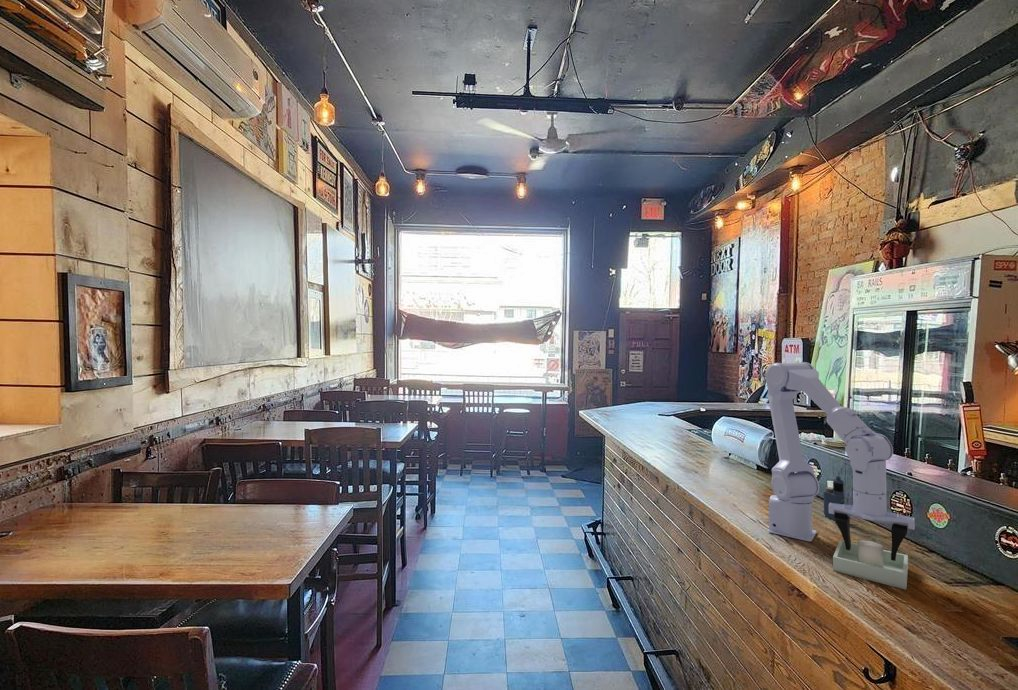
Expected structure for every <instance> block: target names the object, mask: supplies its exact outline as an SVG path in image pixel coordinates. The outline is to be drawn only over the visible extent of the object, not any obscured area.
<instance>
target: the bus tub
mask: <svg viewBox="0 0 1018 690" xmlns="http://www.w3.org/2000/svg"><path fill="white" fill-rule="evenodd" d="M883 554H884V568H881V567H877V566H873V565H869V564H865V563H861V562H858V543H854V542H851V548H850V550H846V547H845V542H844V540H841V539H840V540H839V541H838V544H837V546H836V548H835V551H834V553H833V556H832V570H833V571H834V572H836V573H841V574H845V575H847V576H852V577H856V578H859V579H864V580H867V581H871V582H875V583H879V584H883V585H886V586H890V587H895V588H897V589H902V590H905V591H906V590H907V588H908V575H909V573H908V572H909V555H908V554H903V553H899V552H897V554H896V561H893V560H891V551H890V550H886V549H883Z"/></svg>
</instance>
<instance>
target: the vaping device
mask: <svg viewBox="0 0 1018 690" xmlns="http://www.w3.org/2000/svg"><path fill="white" fill-rule="evenodd" d="M844 485H845V484H844V480H843V479H841V476H835V478H834V479H833V480H832V487H829V486H826V487H825V488H824V491H823V514H824V517H825V518H827V519H829V518H830V520H833V521H835V520H834V515H835V514H830V513H829V503H835V504H844V505H845V494H844V493H845V492H844V491H845V490H844V489H845V487H844Z"/></svg>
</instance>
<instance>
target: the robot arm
mask: <svg viewBox="0 0 1018 690" xmlns="http://www.w3.org/2000/svg"><path fill="white" fill-rule="evenodd" d="M764 373H765V381H766V386H767V397H768V402H769V409H770V414H771V421H772V426H773V432H774V436H775V437H774V438H775V443H776V444H775V445H776V448H777V454H778V460H779V461H778V462H777V463H776V464H775V465H774V466H773V467H772V468H771V482H770V484H771V490H772V492H773V493H774V494H772V495H770V497H769V501H768V531H767V532H768V533H771V534H775V535H780V536H783V537H787V538H792V539H796V540H801V541H805V542H811V543H812V542H813V540H814V537H815V536H816V535H817V532H818V531H817V530H816V529H813V501H815V496H817V495H818V494H819V492H820V487H821V486H820V483H819V479H818V478H817V476H816V475H815V470H814V467H813V465H810V464H809V463H808V462H807V461H805V459H804V455H803V450H802V444H801V437H800V435H799V434H800V433H799V429H798V428H799V427H798V424H797V418H796V417H797V416H796V413H795V412H796V411H795V407H794V401H793V400H794V398H795V397H796V396H797V395H798V394H799V393H801V392H802V393H805V395H807V396H808V397H809V398H810V399H811V400H812V401H813V402H814V404H815V405H817V406H818V407H819V408H820V409H821V410H822V411H823V412H824V413H825V414H826V421H825V422H826V423H827V424H828V425H829V426H830V428H831V429H832V430H833V431H834V433H835V434H836V435H837V436H838V437H839V438H840V439H841V440H842V441H843V443H844V444H845V445H846V446H844V450H845V453H846V455H847V457H848V459H849V461H850V462H849V464H850V465H849V466H850V467H851V469H852V504H845V503H844V504H835V503H829V513H830V514H835V515H834V520H833V521H834V522H835V525H836V526H837V528H838V529H839V531H840V533H841V536H842V539H843V541H844V542H845V547H846V550H850V548H851V543H852V541H851V532H850V531H851V517H852V518H856V519H861V520H867V521H873V522H877V523H883V524H887V525H891V560H893V561H896V554H897V553H898V550H899V548H900V545H901V543H902V542H903V540H904V539H905V537H906V536H907V534H908V529H909V530H912V531H913V530H916V529H915V526H916V525H915V517H911V516H908V515H907V516H906V515H901V514H899V513H894V512H891V511H889V510H888V509H887V505H888V504H887V461H888V460H890V459H891V458H892V457H893V454H894V447H893V444H892V443H891V441H890V440H889V438H888V437H887V436H885V435H884V434H881V433H877V432H876V431H875V430H872V428H871V427H868V425H867V424H866V423H865V422H864V421H863V419H861V418H860V417H859V416H858V412H856V410H855V409H851V408H850V407H847V406H842V405H840V403H839V402H838V400H836V398H835V397H834V396H833V394H832V393H831V392H830V391H829V389H828V388H827V386H825V384H824V383H823V382H822V381H821V380H820V378H819V377H820V374H819V371H818V370H817V369H815V368H814V366H813V365H812V364H811V363H809V362H806V361H802V362H784V363H783V362H782V363H781V362H773V363H772V364H771V365H769V367H768V368H767V370H766V372H764ZM887 510H888V511H887Z"/></svg>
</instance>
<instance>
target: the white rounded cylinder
mask: <svg viewBox="0 0 1018 690" xmlns="http://www.w3.org/2000/svg"><path fill="white" fill-rule="evenodd" d="M857 544H858V562H861V563H865V564H869V565H873V566H877V567H881V568H884V554H883V550H884V546H883V545H882V544H880V543H877V542H874V541H870V540H858V541H857Z"/></svg>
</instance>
